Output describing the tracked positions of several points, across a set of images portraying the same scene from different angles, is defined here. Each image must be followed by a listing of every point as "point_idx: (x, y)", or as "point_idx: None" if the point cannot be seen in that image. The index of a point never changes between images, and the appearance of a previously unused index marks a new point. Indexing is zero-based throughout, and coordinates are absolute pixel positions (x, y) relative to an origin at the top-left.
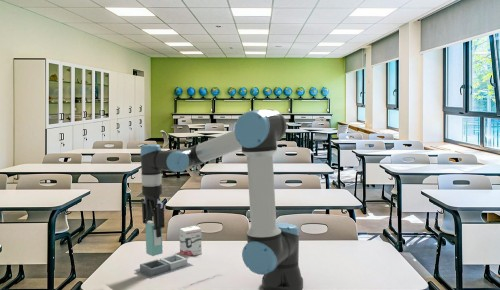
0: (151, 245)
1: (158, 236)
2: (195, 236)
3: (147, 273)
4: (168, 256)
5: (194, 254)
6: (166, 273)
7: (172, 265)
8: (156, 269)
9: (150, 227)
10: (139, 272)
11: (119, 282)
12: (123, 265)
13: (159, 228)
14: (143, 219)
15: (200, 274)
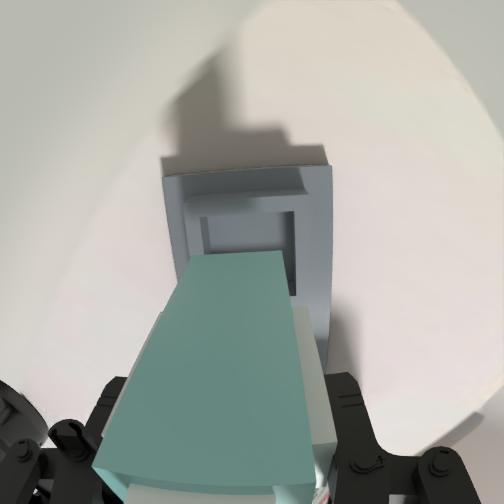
0: (184, 293)
1: (108, 387)
2: (318, 490)
3: (224, 193)
4: None
5: None
6: (177, 270)
7: None
8: (188, 237)
9: (129, 442)
10: (280, 171)
11: (261, 53)
12: (448, 179)
13: (31, 445)
14: (451, 499)
15: (132, 362)
